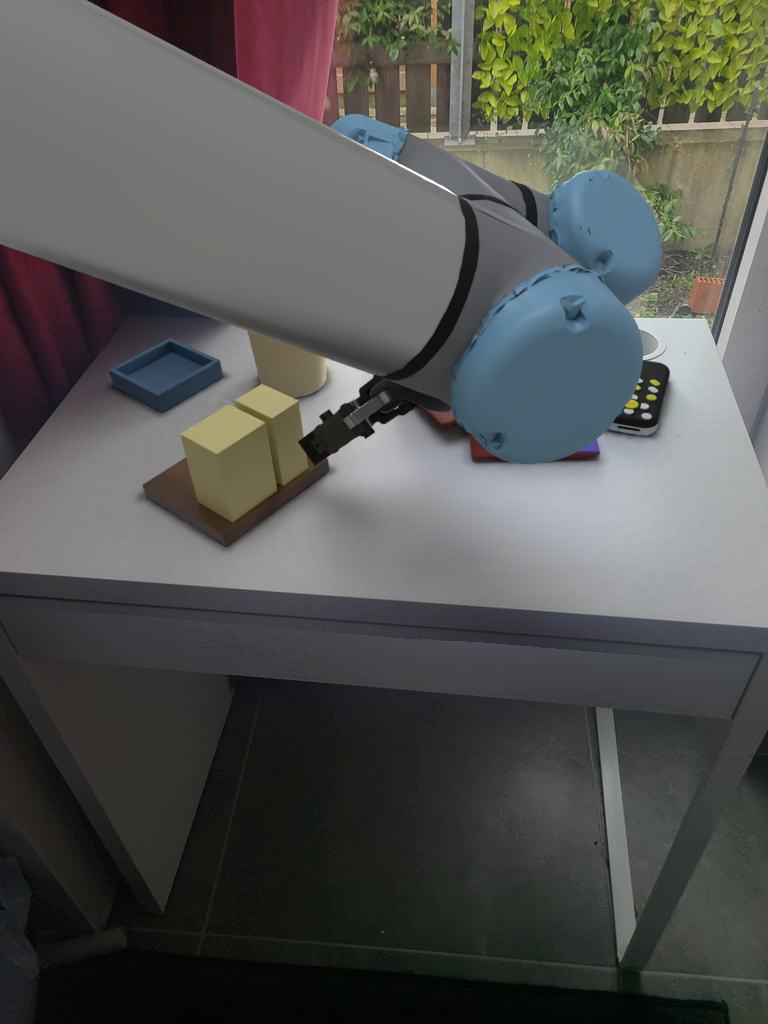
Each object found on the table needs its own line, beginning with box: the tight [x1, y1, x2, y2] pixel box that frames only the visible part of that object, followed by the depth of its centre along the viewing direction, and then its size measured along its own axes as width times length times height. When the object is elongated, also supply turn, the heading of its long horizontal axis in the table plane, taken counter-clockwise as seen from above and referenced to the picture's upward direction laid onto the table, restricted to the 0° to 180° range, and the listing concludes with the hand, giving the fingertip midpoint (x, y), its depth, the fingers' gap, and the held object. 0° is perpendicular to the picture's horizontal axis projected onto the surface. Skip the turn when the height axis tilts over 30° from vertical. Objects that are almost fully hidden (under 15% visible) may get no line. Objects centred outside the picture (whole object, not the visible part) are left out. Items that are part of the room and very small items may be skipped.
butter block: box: [179, 404, 277, 523], centre depth 75 cm, size 6×5×8 cm
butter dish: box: [108, 337, 224, 413], centre depth 96 cm, size 9×9×2 cm
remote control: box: [607, 359, 671, 436], centre depth 88 cm, size 6×13×2 cm, turn 159°
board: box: [141, 454, 330, 547], centre depth 81 cm, size 14×12×2 cm
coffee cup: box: [247, 331, 327, 399], centre depth 91 cm, size 9×9×12 cm
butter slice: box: [234, 383, 308, 486], centre depth 78 cm, size 4×5×8 cm
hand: (311, 449), depth 76 cm, fingers closed
